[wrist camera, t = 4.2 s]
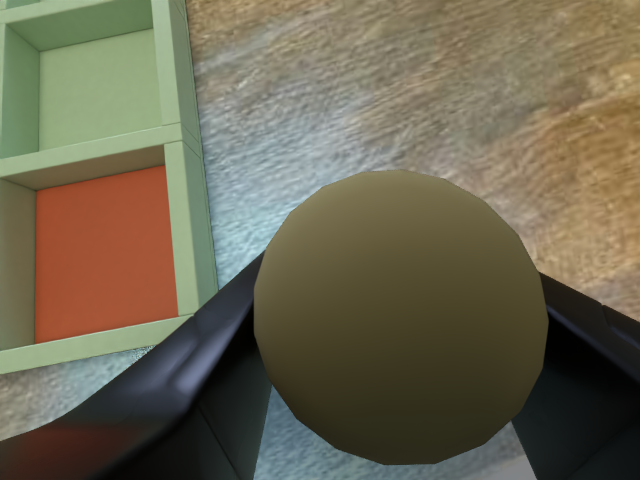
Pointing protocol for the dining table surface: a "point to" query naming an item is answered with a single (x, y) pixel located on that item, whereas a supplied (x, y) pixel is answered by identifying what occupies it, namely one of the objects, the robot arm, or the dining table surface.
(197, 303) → the grid
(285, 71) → the dining table surface
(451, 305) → the cork
